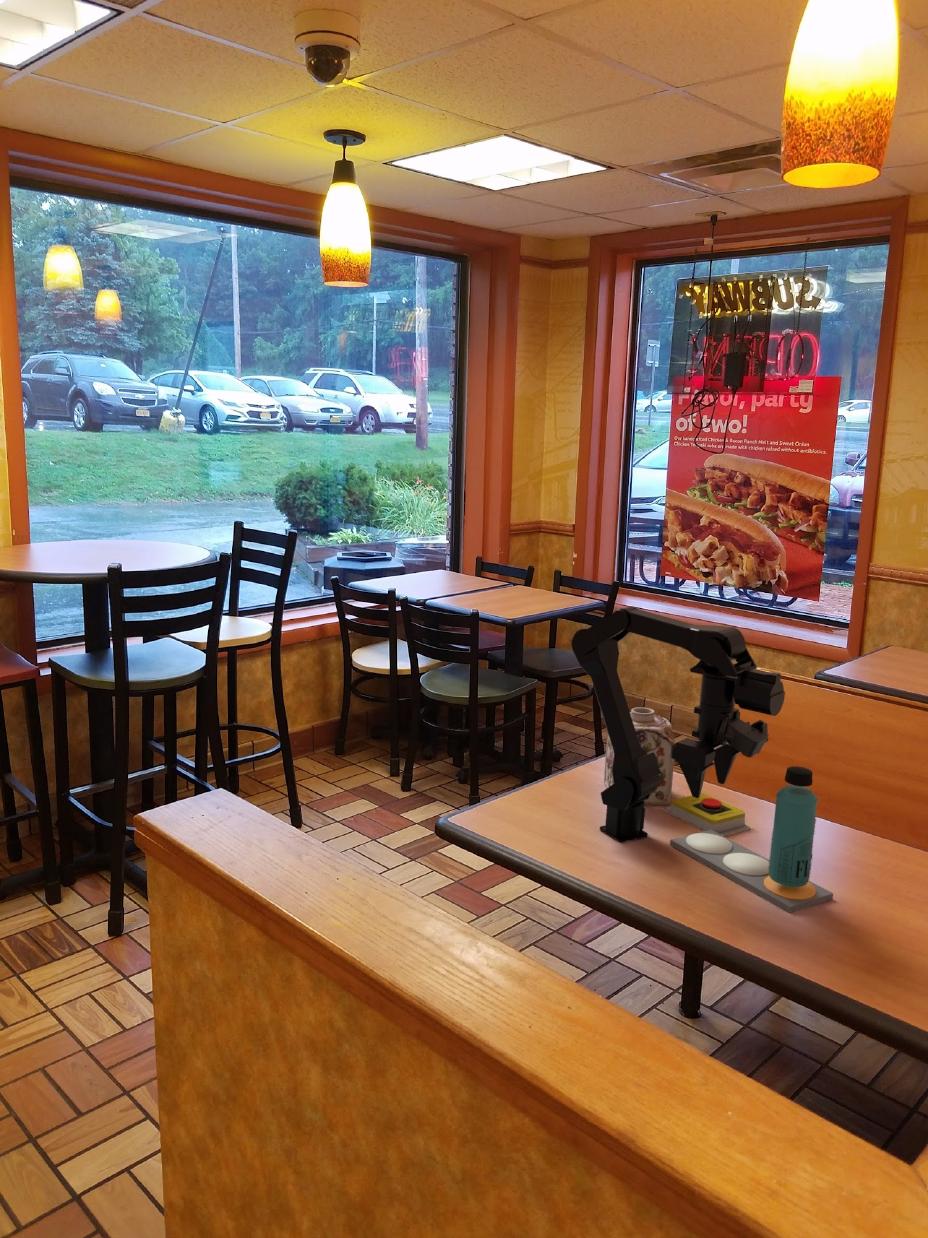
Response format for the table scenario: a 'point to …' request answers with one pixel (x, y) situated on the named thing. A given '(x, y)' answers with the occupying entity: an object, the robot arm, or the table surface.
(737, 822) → the emergency button
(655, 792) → the decorative jar
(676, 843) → the panel
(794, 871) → the beverage bottle
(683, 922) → the table surface
